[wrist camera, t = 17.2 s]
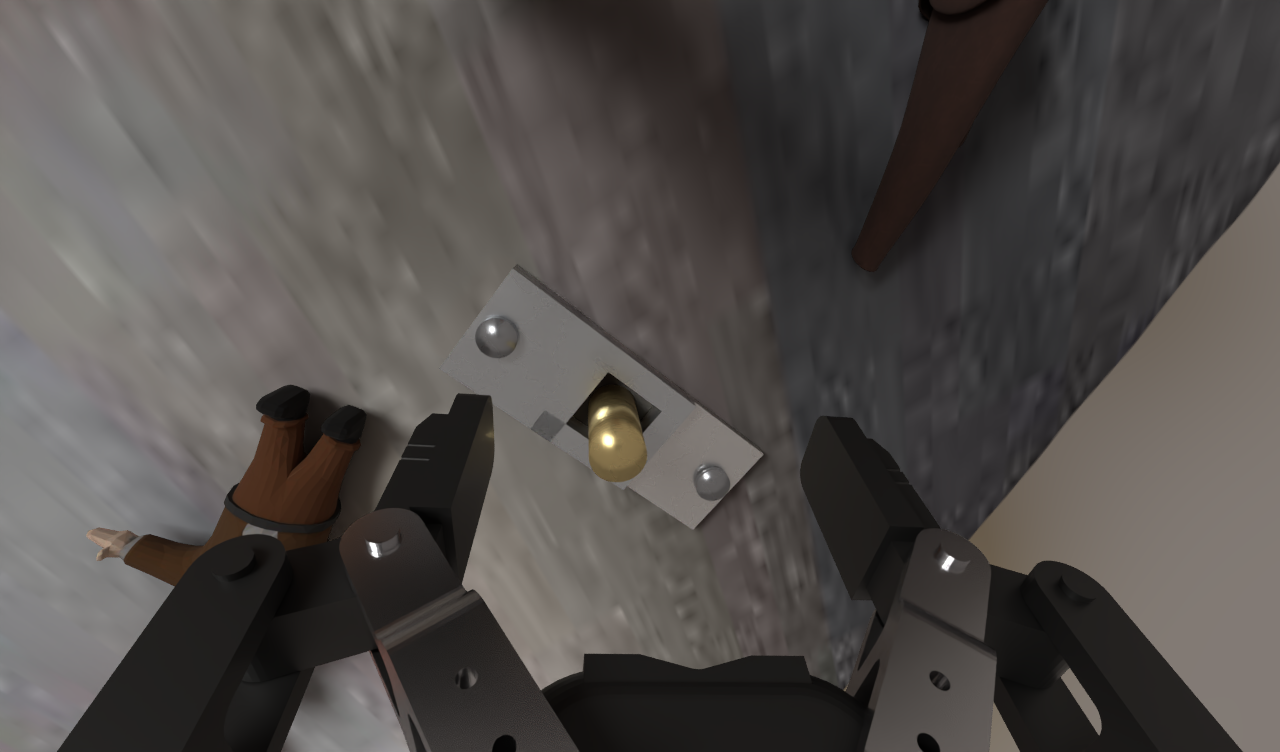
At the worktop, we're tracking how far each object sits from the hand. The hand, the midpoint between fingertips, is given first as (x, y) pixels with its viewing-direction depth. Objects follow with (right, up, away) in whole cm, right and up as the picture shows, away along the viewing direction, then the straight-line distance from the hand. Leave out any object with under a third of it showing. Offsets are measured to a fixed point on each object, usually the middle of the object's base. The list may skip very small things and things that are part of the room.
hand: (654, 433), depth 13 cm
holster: (+19, +24, +26) cm, 40 cm away
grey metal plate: (-3, -1, +32) cm, 32 cm away
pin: (-3, -1, +32) cm, 32 cm away
